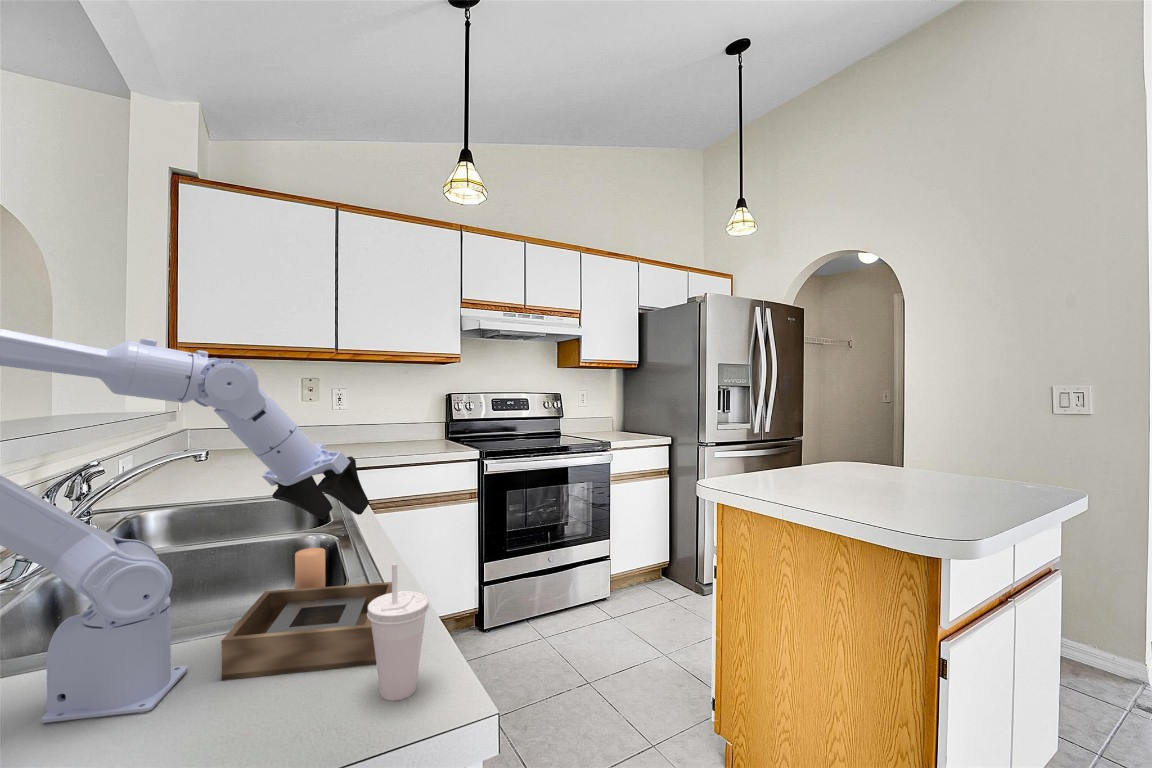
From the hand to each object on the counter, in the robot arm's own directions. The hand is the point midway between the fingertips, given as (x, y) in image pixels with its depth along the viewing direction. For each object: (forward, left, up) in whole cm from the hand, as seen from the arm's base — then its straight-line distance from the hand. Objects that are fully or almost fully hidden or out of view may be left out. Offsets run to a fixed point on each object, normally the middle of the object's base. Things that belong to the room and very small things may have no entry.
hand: (345, 511), depth 74 cm
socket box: (-2, -5, -16) cm, 16 cm away
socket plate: (-2, -5, -16) cm, 16 cm away
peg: (-6, +7, -16) cm, 18 cm away
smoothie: (+9, -18, -16) cm, 25 cm away
